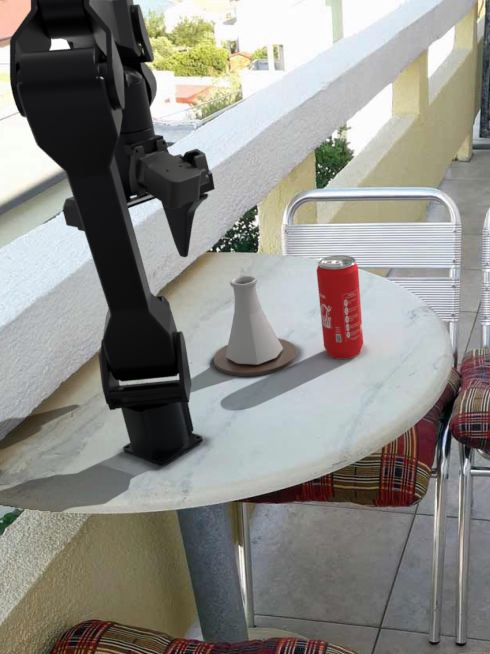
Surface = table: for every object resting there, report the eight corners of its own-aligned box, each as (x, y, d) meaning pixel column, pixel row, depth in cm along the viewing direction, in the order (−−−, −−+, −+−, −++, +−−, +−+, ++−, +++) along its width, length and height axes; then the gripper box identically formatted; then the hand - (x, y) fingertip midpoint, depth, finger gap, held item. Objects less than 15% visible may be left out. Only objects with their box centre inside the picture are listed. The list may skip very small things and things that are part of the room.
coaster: (259, 383, 107) (258, 379, 107) (196, 365, 113) (196, 361, 112) (313, 350, 114) (313, 346, 114) (252, 334, 120) (251, 331, 119)
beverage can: (359, 361, 111) (352, 269, 103) (320, 359, 112) (311, 268, 104) (367, 344, 115) (361, 254, 107) (329, 343, 116) (321, 254, 108)
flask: (292, 349, 114) (283, 274, 108) (259, 370, 109) (247, 294, 103) (250, 339, 117) (239, 266, 111) (216, 360, 112) (202, 285, 106)
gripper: (111, 154, 85) (146, 305, 95) (237, 116, 97) (256, 254, 107) (41, 145, 91) (80, 289, 100) (168, 110, 103) (193, 242, 112)
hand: (157, 268), depth 105 cm, fingers open, 9 cm apart
